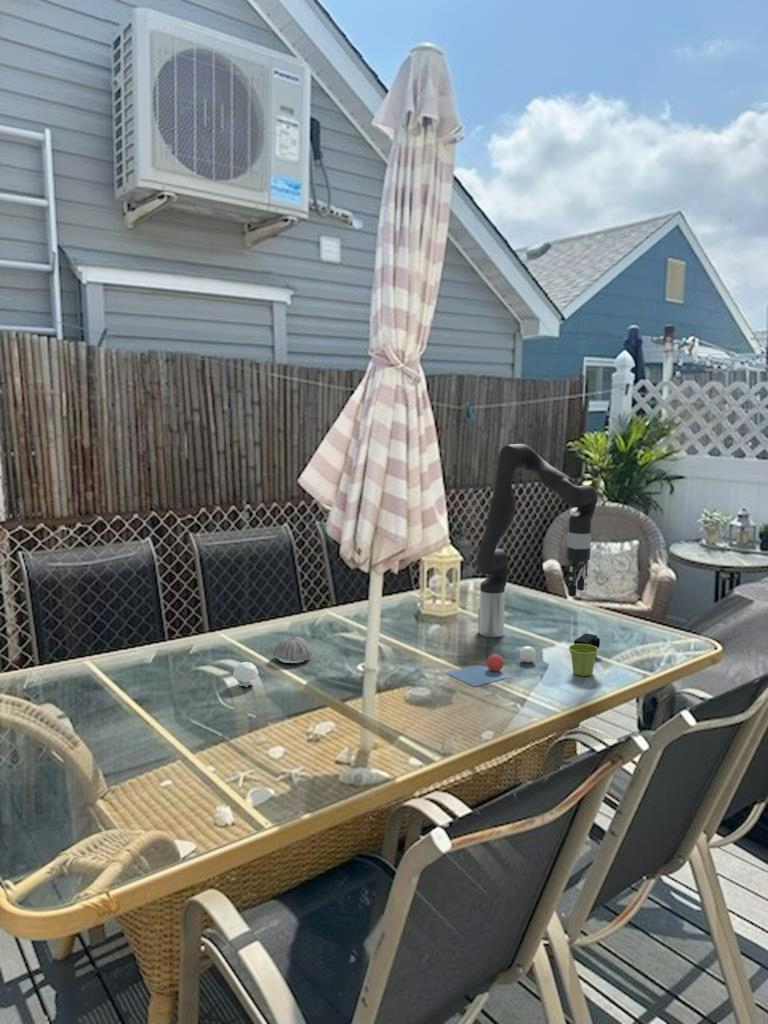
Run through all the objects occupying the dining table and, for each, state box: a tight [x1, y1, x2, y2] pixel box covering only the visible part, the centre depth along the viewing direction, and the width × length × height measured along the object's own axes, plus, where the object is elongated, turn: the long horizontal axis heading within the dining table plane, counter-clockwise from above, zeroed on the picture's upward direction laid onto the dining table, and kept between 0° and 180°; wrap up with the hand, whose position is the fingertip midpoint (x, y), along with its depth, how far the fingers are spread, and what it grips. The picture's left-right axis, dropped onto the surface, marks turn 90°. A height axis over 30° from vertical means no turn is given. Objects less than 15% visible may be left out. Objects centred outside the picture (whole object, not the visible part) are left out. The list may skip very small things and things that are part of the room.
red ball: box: [486, 654, 504, 672], centre depth 237 cm, size 6×6×6 cm
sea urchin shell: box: [273, 636, 313, 661], centre depth 248 cm, size 13×14×8 cm
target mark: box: [446, 664, 508, 688], centre depth 233 cm, size 14×14×1 cm
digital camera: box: [573, 632, 601, 650], centre depth 250 cm, size 10×5×7 cm, turn 143°
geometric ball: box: [232, 661, 259, 682], centre depth 224 cm, size 8×8×8 cm
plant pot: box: [568, 644, 599, 677], centre depth 234 cm, size 9×9×9 cm
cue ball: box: [519, 645, 537, 663], centre depth 245 cm, size 6×6×6 cm
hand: (576, 592), depth 240 cm, fingers open, 8 cm apart
